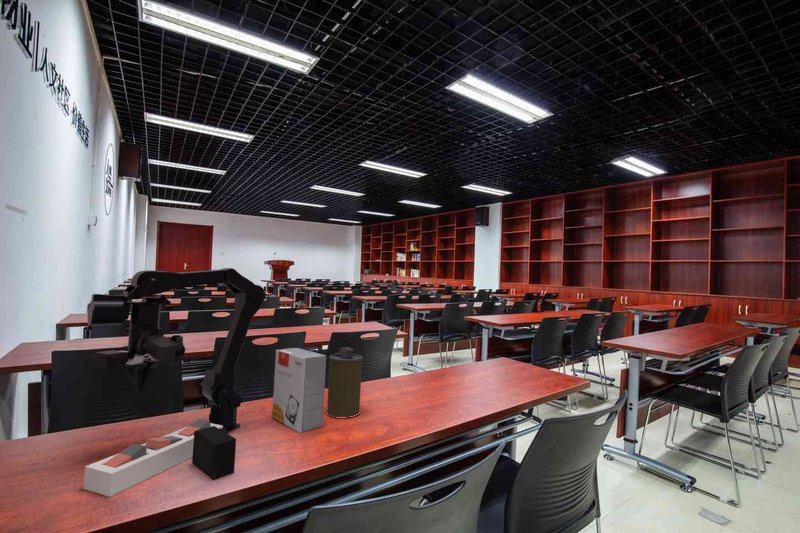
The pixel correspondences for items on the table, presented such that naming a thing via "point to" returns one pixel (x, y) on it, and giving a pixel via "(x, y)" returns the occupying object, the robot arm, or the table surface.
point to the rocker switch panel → (138, 466)
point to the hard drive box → (299, 388)
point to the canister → (344, 383)
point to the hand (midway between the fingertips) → (139, 391)
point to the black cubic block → (214, 452)
